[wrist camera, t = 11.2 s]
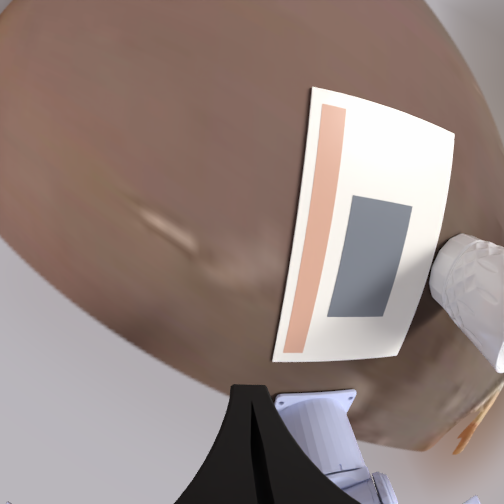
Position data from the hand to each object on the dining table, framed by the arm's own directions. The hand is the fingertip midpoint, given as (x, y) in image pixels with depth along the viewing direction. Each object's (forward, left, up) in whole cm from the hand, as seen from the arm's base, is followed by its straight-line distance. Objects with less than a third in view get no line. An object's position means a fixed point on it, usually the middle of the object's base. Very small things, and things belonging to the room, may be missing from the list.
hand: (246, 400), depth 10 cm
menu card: (+4, -9, -9) cm, 14 cm away
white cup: (+3, -19, -10) cm, 21 cm away
